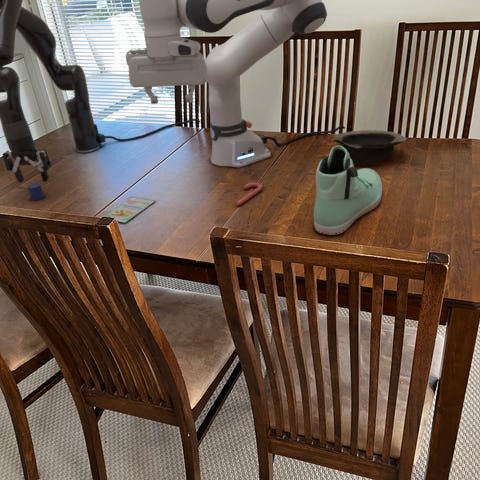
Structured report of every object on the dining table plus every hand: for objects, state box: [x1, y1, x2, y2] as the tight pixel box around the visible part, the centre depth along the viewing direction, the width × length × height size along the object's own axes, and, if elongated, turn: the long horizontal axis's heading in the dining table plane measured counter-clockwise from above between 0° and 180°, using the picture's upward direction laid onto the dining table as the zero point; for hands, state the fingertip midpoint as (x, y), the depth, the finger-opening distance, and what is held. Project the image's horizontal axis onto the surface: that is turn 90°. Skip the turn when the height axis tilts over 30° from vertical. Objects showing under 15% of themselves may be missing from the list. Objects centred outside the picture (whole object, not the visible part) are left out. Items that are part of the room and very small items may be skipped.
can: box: [27, 182, 45, 201], centre depth 159 cm, size 4×4×5 cm
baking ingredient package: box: [104, 197, 155, 223], centre depth 147 cm, size 9×1×15 cm
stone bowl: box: [332, 130, 407, 166], centre depth 168 cm, size 25×25×9 cm
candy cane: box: [235, 181, 263, 207], centre depth 150 cm, size 6×15×2 cm, turn 145°
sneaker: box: [313, 145, 383, 236], centre depth 133 cm, size 14×35×20 cm, turn 152°
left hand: (33, 181), depth 158 cm, fingers open, 8 cm apart
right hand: (172, 102), depth 127 cm, fingers open, 8 cm apart
